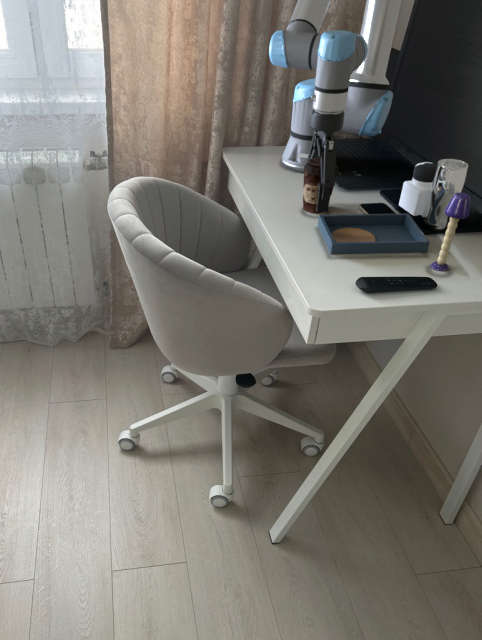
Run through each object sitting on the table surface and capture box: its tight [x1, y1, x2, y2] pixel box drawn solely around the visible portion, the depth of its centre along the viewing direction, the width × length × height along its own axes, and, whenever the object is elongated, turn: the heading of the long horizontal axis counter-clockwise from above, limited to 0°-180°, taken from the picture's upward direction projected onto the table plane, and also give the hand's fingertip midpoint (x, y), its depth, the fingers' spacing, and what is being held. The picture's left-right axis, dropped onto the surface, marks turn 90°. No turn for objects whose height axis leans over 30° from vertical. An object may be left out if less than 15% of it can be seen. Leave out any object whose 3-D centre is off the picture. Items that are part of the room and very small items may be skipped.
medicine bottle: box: [398, 161, 438, 218], centre depth 140 cm, size 7×7×12 cm
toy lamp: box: [429, 192, 471, 273], centre depth 116 cm, size 5×5×17 cm
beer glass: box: [423, 158, 469, 232], centre depth 133 cm, size 7×7×15 cm
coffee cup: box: [302, 157, 339, 215], centre depth 140 cm, size 9×8×13 cm
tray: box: [317, 212, 431, 255], centre depth 130 cm, size 15×22×4 cm
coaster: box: [332, 228, 375, 242], centre depth 131 cm, size 10×10×1 cm
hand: (316, 200), depth 142 cm, fingers open, 13 cm apart
